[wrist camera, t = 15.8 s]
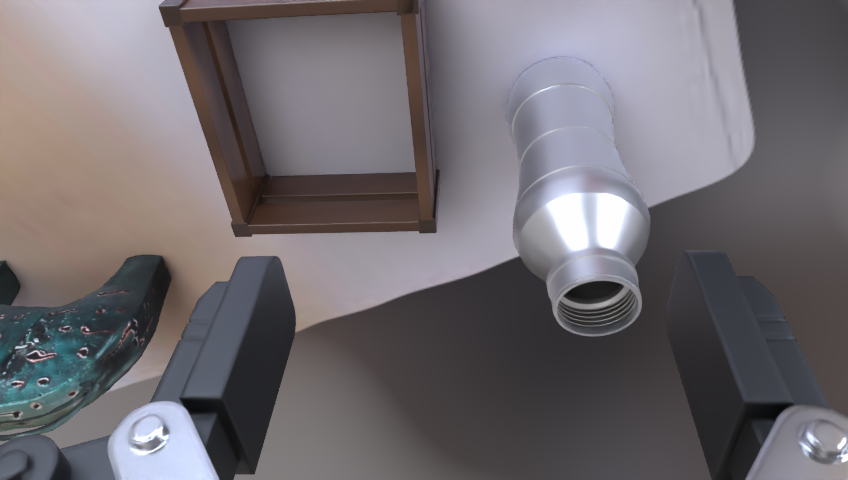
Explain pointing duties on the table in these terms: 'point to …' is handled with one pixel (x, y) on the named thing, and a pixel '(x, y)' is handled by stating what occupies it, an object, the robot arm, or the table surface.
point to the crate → (238, 148)
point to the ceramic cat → (74, 344)
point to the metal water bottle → (576, 197)
